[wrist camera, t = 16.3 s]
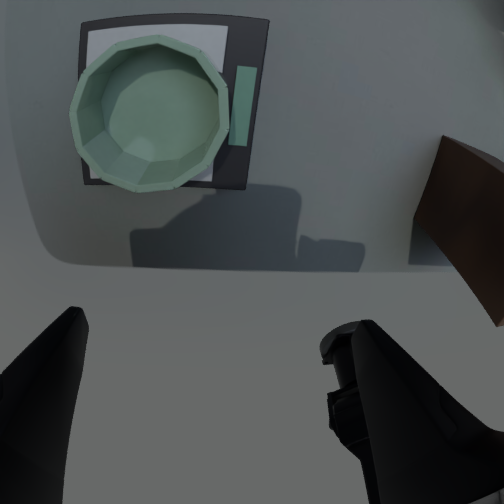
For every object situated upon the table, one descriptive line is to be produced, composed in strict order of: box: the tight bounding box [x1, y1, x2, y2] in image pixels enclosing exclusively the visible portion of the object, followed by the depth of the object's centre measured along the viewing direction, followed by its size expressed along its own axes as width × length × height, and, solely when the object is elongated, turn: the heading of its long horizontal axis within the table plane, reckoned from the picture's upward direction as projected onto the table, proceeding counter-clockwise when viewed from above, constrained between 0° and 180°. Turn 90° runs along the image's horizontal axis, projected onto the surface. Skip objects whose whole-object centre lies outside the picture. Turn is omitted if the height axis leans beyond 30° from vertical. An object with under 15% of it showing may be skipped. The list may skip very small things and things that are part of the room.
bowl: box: [69, 34, 230, 193], centre depth 12 cm, size 7×7×4 cm
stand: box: [414, 136, 504, 327], centre depth 16 cm, size 8×8×12 cm
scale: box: [78, 13, 270, 190], centre depth 15 cm, size 10×10×3 cm
